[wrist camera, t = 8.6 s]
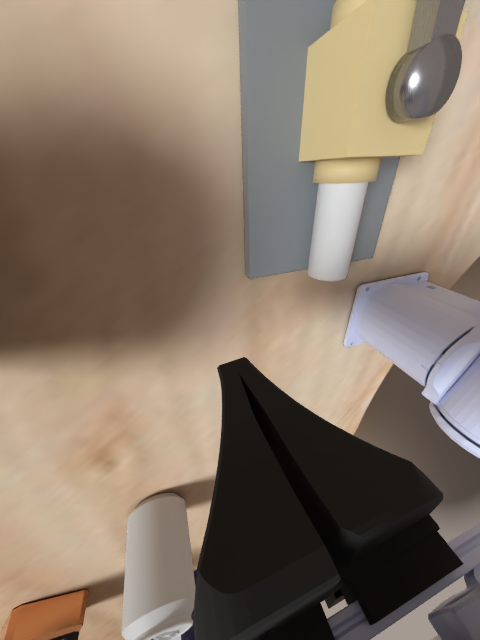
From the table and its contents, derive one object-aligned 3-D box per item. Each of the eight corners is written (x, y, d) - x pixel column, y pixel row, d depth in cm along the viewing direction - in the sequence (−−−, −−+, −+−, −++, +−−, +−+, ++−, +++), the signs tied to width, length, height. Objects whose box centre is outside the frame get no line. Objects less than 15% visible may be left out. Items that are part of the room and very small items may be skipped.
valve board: (468, -156, 11) (678, -372, 7) (364, 255, 22) (418, 274, 18) (231, -265, 8) (333, -792, 4) (245, 274, 19) (275, 304, 14)
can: (121, 504, 30) (108, 662, 20) (180, 482, 32) (195, 616, 22) (136, 526, 34) (131, 666, 24) (187, 505, 36) (203, 627, 26)
